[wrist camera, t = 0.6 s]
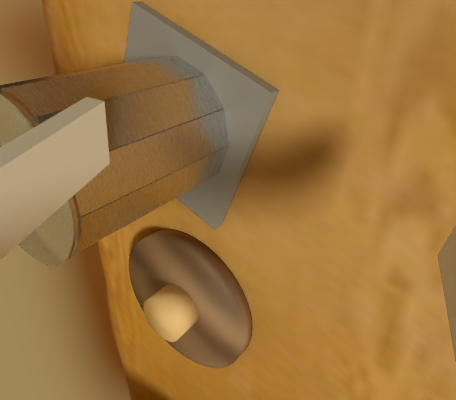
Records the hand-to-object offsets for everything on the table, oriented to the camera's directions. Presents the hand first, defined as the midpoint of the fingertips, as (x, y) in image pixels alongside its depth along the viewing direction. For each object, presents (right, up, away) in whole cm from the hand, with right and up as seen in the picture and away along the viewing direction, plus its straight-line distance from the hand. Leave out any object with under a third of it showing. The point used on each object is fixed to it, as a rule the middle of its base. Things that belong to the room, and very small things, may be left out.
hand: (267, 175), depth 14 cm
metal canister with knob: (-5, +5, +14) cm, 16 cm away
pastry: (-6, -11, +22) cm, 25 cm away
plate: (-5, -10, +23) cm, 26 cm away
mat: (-5, +5, +15) cm, 16 cm away
